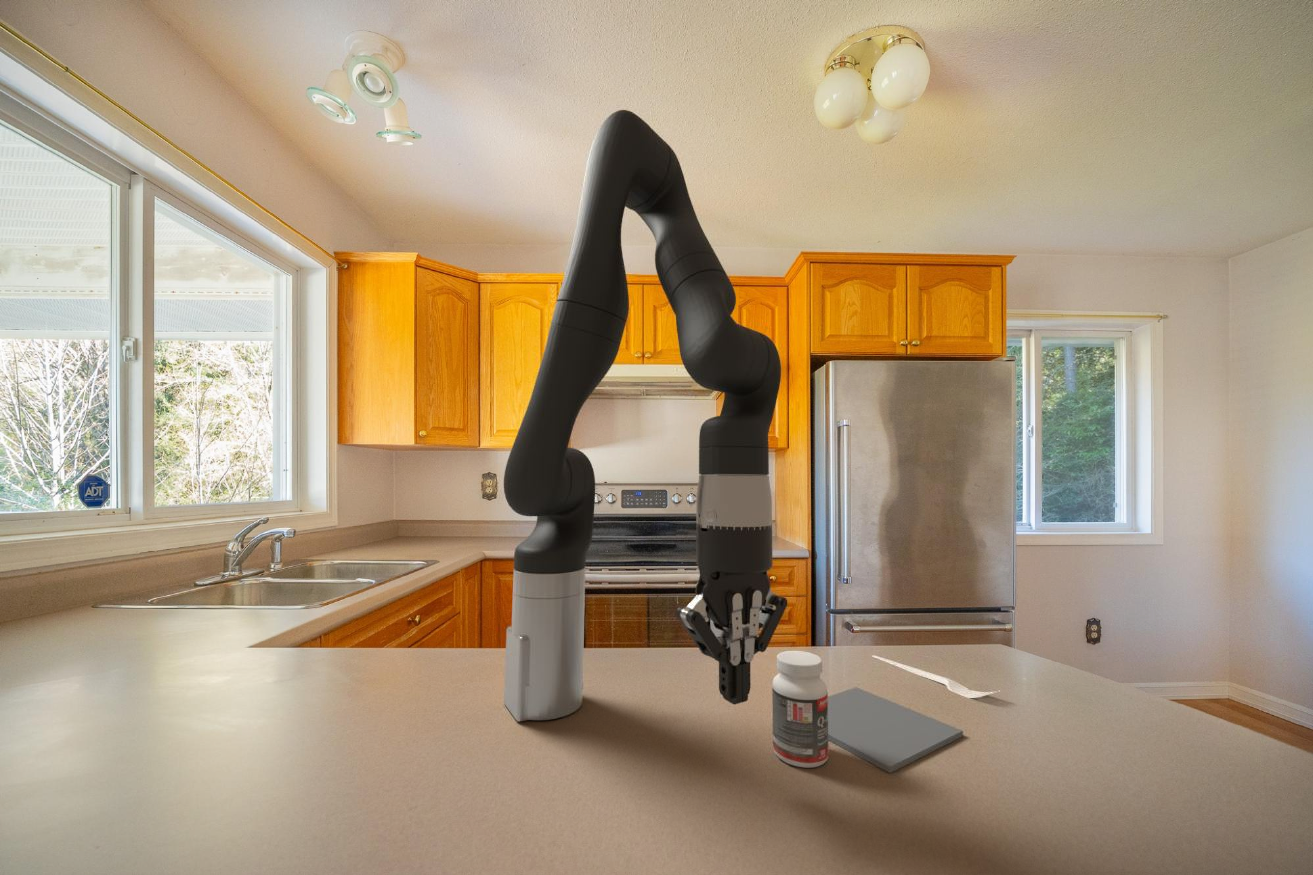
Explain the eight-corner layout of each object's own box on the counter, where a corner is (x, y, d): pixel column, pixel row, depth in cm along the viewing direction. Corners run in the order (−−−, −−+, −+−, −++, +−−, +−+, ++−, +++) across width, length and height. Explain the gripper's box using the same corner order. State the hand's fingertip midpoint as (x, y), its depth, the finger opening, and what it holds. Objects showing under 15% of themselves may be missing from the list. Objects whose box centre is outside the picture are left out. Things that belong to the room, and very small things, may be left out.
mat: (889, 773, 49) (889, 766, 49) (784, 716, 61) (784, 711, 61) (963, 736, 57) (962, 730, 57) (856, 691, 69) (856, 687, 69)
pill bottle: (832, 773, 49) (830, 669, 50) (773, 766, 50) (772, 664, 51) (824, 743, 55) (823, 650, 56) (772, 737, 56) (771, 647, 57)
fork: (879, 659, 84) (878, 647, 84) (1004, 704, 66) (1003, 689, 66) (865, 661, 82) (864, 649, 83) (989, 708, 64) (988, 693, 65)
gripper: (756, 516, 57) (757, 674, 55) (658, 519, 50) (656, 700, 48) (808, 520, 50) (811, 699, 49) (704, 526, 43) (703, 734, 42)
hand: (734, 699), depth 48 cm, fingers closed
